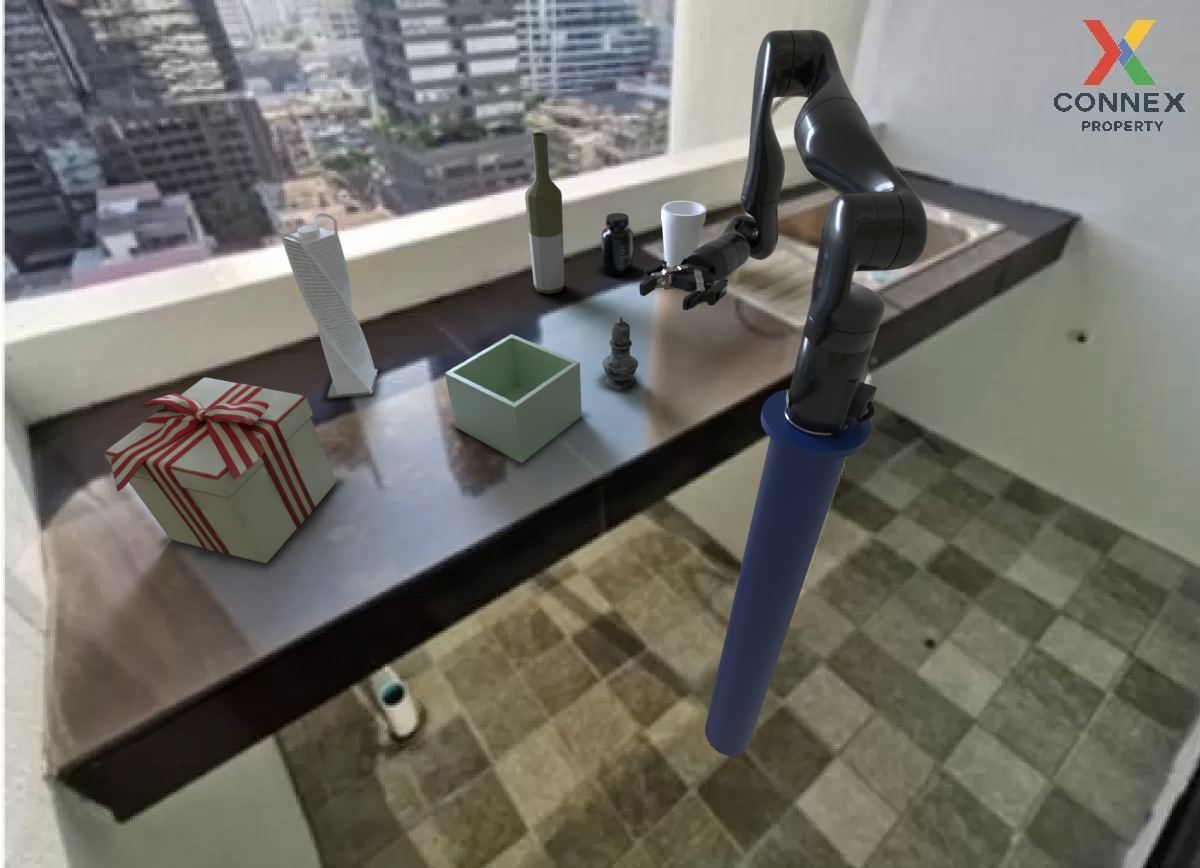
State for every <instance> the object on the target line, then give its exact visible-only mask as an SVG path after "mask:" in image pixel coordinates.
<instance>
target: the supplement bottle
mask: <svg viewBox="0 0 1200 868" xmlns="http://www.w3.org/2000/svg"><path fill="white" fill-rule="evenodd" d="M629 226H630V221H629V215H628V214H626V213H623V212H612V213H609V214H607V215H606V216H605V228H603V230H602V232H601V270H602V272H603V273H604V274H606V275H607V276H611V277H623V276H627V275H629V274H631V272H632V271H633V269H634V268H633V267H634V266H633V265H634V232H633V230H632V229H631V228H630V227H629Z"/></svg>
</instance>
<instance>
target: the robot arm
mask: <svg viewBox="0 0 1200 868" xmlns="http://www.w3.org/2000/svg"><path fill="white" fill-rule="evenodd" d="M776 98H806V101H804V103H803V105H802V107H801V108H800V110H799V111H798V114H797V117H796V119H795V121H794V127H793V139H794V143H795V146H796V148H797V151H798V153H799V156H800V158H801V161H802V163H803V165H804V167H805V168H806V170H807V171H808V172H809V174H811V176H812V177H814V178H815V179H816V180H817V181H818V182H820V183H821V184H822V185H824V186H826V187H827V188H829V189H831V190H832V191H834V192H835V193H837V194H838V195H836V196H835V197H834V199H833V200H832V201H831V202H830V204H829V206H828V208H827V211H826V213H825V216H824V218H823V219H824V220H823V224H822V229H821V234H820V239H819V246H818V251H817V257H816V263H815V268H814V273H813V277H812V282H811V293H810V302H809V307H808V311H807V315H806V318H805V323H804V328H803V332H802V336H801V340H800V344H799V348H798V353H797V357H796V360H795V361H796V362H795V366H794V370H793V374H792V378H791V382H790V387H789V389H790V391H789V395H788V390H787V394H786V406H785V409H784V417H785V419H786V421H787V422H788V423H789V424H790V425H791V426H792V427H793V428H795V429H796V430H798V431H800V432H802V433H805V434H808V435H811V436H817V437H832V438H835V439H839V438H840V436H841V435H842V434H843V432H844V431H845V430H846V429H847V427H848V425H849V424H850V422H851V421H852V419H853V417H855V418H857V421H858V422H859V423H861V422H863V421H865V420H868V419H869V420H870V419H872V417H873V416H874V415H875V406H874V405H873V400H874V399H875V398H874V397H875V395H876V392H877V389H878V386H875V385H871V384H869V383H865V382H866V379H867V376H868V374H869V370H870V367H869V366H868V363H869V359H870V356H871V353H872V351H873V348H874V344H875V341H876V338H877V335H878V332H879V329H880V325H881V323H882V321H883V317H884V313H885V311H886V309H885V308H886V304H885V301H884V299H883V297H882V296H881V295H880V294H879V293H877V292H876V291H874V290H873V289H871V288H869V287H867V286H864V285H862V284H860V283H856V282H853V278H854V274H855V272H885V271H895V270H901V269H904V268H907V267H910V266H911V265H913V264H915V262H917V261H918V259H920V257H921V256H922V255H923V253H924V251H925V248H926V246H927V242H928V237H929V236H928V235H929V234H928V233H929V225H928V217H927V214H926V210H925V208H924V205H923V202H922V200H921V198H920V197H919V195H918V194H917V192H916V191H915V189H914V188H913V186H912V185H910V183H909V182H908V181H907V180H906V178H905V177H903V175H902V174H901V172H900V171H899V170H898V168H896V167H895V165H894V163H892V161H891V160H890V158H889V157H888V155H887V154H886V152H885V151H884V149H883V147H882V146H881V144H880V143H879V141H878V139H877V137H876V136H875V134H874V132H873V130H872V129H871V127H870V124H869V122H868V120H867V118H866V116H865V114H864V112H863V111H862V108H861V107H860V106H859V104H858V102H857V101H856V99H855V97H854V95H853V94H852V92H851V90H850V88H849V86H848V84H847V82H846V80H845V78H844V76H843V73H842V70H841V67H840V63H839V61H838V58H837V55H836V52H835V49H834V45H833V44H832V41H831V39H830V38H829V36H828V34H826V33H825V32H823V31H822V30H818V29H783V30H781V29H780V30H778V29H777V30H772V31H769V32H767V34H765V35H764V37H763V38H762V41H761V43H760V45H759V48H758V51H757V56H756V62H755V69H754V76H753V89H752V99H751V100H752V102H751V112H750V113H751V115H750V129H749V147H748V156H747V164H746V170H745V175H744V179H743V184H742V190H741V193H740V199H739V201H740V203H739V204H740V207H741V209H742V210H743V211H744V212H745V213H746V214H737V215H734V216H733V217H732V218H731V219H730V220H729V222H728V224H727V225H726V228H725V229H724V230H723V232H722V233H721V234H720V235H719V236H718V237H716V238H715V239H713V240H710V241H708V242H706V243H704V244H702V245H701V246H698V249H696V250H695V251H693V252H692V253H690V254H688V255H687V256H686V257H685V258H684V260H683V261H682V263H681V264H680V265H678V266H674V267H669V266H667V261H665V260H660V261H659V262H656V263H654V264H652V265H651V266H649V267H647V268H645V269H643V281H641V282H640V283H639V295H640V296H641V297H645V296H647V295H649V294H650V293H652V292H653V291H655V290H656V289H663V290H665V291H667V290H674V289H675V290H676V289H677V290H682V291H684V292H686V293H689V294H687V295H685V297H683V300H682V307H681V309H682V310H683V311H688V310H692V309H694V308H695V307H696V306H698V305H702V304H703V305H704V303H706V305H708V306H715V305H716V304H717V303H719V301H720V300H721V299H722V298H723V297H725V296H726V295H727V291H728V285H729V279H728V278H729V277H730V276H731V275H732V274H733V273H734V272H735V271H737V270H738V269H739V268H740V267H742V266H743V265H744V264H745V263H746V262H747V261H748V260H749V258H751V259H753V260H757V261H764V260H767V259H768V258H769V257H770V256H772V254H773V253H774V252H775V250H776V248H777V246H778V241H779V206H778V205H779V199H780V195H781V192H782V187H783V183H784V179H785V174H786V161H785V155H784V152H783V150H782V147H781V144H780V141H779V139H778V136H777V134H776V131H775V127H774V122H773V116H772V115H773V113H772V111H773V103H774V99H776ZM747 214H748V215H747ZM669 276H670V278H669ZM660 279H661V281H660V282H658V280H660ZM669 279H670V281H671V283H669ZM864 413H865V415H863V414H864Z"/></svg>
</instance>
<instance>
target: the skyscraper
mask: <svg viewBox="0 0 1200 868" xmlns="http://www.w3.org/2000/svg"><path fill="white" fill-rule="evenodd" d="M321 218H328V219H331V220H332V222H333V228H334V229H333V230H334V232H333V231H332V230H329V229H325V228H323V227H320V226H319V225H318V221H319V219H321ZM296 231H297V232H294V233H291V234H289V233H285V232H284V233H282V234H281V241H282V244H283V247H284V250H285V253H286V256H287V260H288V262H289V266H290V268H291V271H292V273H293V276H294V280H295V282H296V284H297V286H298V290H299V292H300V294H301V296H302V299H303V301H304V303H305V305H306V307H307V309H308V311H309V312H310V315H311V316H312V318H313V320H314V322H315V323H316V327H317V331H318V334H319V335H318V336H319V339H320V343H321V347H322V350H323V354H324V357H325V360H326V365H327V368H328V370H329V373H330V376H331V380H332V381H331V384H330V386H329V390H328V392H327V399H337V398H338V399H340V398H348V397H360V396H373V395H374V392H375V386H376V382H377V379H378V373H379V369H378V368H375V365H374V361H373V358H372V354H371V351H370V348H369V345H368V342H367V339H366V337H365V333H364V331H363V330H362V327H361V325H360V323H359V321H358V319H357V316H356V314H355V313H354V311H353V308H352V292H351V283H350V276H349V270H348V267H347V261H346V257H345V253H344V249H343V246H342V243H341V239H340V236H339V232H338V231H339V230H338V220H337V218H335V217H334V216H332V215H330V214H328V213H323V212H321V213H317V214H316V216H315V218H314V224H307V225H303V226H300V227H298V228H297V230H296Z"/></svg>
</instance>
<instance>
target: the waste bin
mask: <svg viewBox="0 0 1200 868" xmlns="http://www.w3.org/2000/svg"><path fill="white" fill-rule="evenodd" d="M444 377H445V382H446V386H447V391H448V392H447V393H448V397H449V401H450V406H451V411H452V416H453V421H454V427H455V428H457V429H458V430H460V431H461V432H464V433H465V434H468V435H469V436H470V437H472V438H474V439H476V440H478V441H480V442H482V443H484V444H485V445H487V446H489V447H491V448H493V449H495V450H497V451H498V452H500V453H502V454H503V455H506V456H507V457H509V458H511V459H512V460H515V461H516V462H519V463H520V464H523V463H524V462H525V461H526V460H528V459H529V458H530V457H531V456H533V455H534V454H536V452H538V451H539V450H541V449H542V448H543V447H544V446H546V445H547V444H548V443H549V442H550V441H552V440H553V439H554V438H556V437H557V436H558V435H559V434H561V433H562V432H563V431H565V430H566V429H567V428H569V427H570V426H571V425H572V424H573V423H574V422H576V421H577V420H578V419H580V418H581V417H582V416H583V415H582V388H581V387H582V386H581V385H582V384H581V362H580V361H577V360H575V359H572V358H570V357H568V356H566V355H563V354H561V353H558V352H556V351H554V350H551V349H549V348H546V347H544V346H541V345H539V344H537V343H534V342H533V341H529V340H527V339H524V338H522V337H520V336H517V335H515V334H512V333H511V334H509V335H508V336H506V337H504V338H501V340H499V341H496V342H495V343H493V344H492V345H490V346H489V347H486V348H485V349H484V350H482V351H480V352H478V353H476V354H475V355H473V356H471V357H469V358H468V359H466V360H464V361H463V362H461V363H460V364H459V363H458V365H456V366H454V367H452V368H451V369H449V370H447V371H446V372H444Z"/></svg>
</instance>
